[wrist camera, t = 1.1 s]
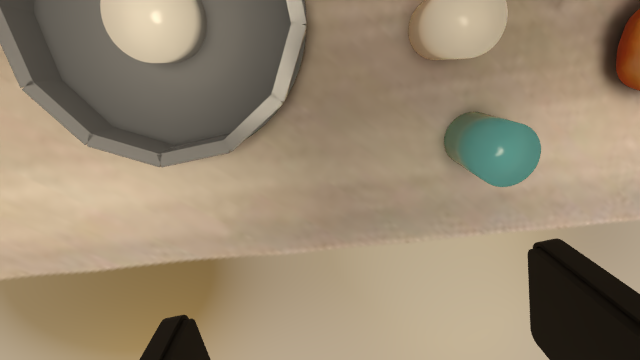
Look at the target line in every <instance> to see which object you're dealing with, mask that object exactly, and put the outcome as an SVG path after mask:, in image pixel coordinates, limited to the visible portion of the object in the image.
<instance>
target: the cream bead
mask: <svg viewBox="0 0 640 360" xmlns="http://www.w3.org/2000/svg"><path fill="white" fill-rule="evenodd" d="M507 18H508V8H507V3H506V0H426V1H424V2H423V3H421V4H420V5H419V6H418V7H417V8H416V10H415V11H414V13H413V14H412V16H411V19H410V22H409V27H408V36H409V40H410V43H411V46H412V47H413V49H414V50H415V51H416V53H418V54H419V55H420V56H422V57H424V58H426V59H429V60H447V59H468V58H475V57H478V56H480V55H483V54H484V53H486V52H488V51H489V50H490V49H492V48H493V47H494V46H495V45H496V43H497V42H498V41H499V39H500V38H501V36H502V34H503V32H504V30H505V27H506V24H507Z"/></svg>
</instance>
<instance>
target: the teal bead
mask: <svg viewBox="0 0 640 360" xmlns="http://www.w3.org/2000/svg"><path fill="white" fill-rule="evenodd" d="M444 146H445V150H446V152H447V154H448V156H449V157H450V158H451V159H452V160H453V161H455V162H456V163H458V164H459V165H461V166H462V167H464V168H465V169H467V170H469V171H470V172H472V173H473V174H475V175H476V176H478V177H479V178H481V179H482V180H484V181H485V182H487V183H489V184H491V185H493V186H498V187H507V186H512V185H515V184H518V183H519V182H521V181H523V180H524V179H526V178H527V177H528V176H529V175H530V174H531V173H532V172H533V171H534V169H535V168H536V166H537V164H538V162H539V159H540V154H541V144H540V140H539V138H538V136H537V134H536V133H535V132H534V131H533V130H532V129H531V128H530V127H528V126H526V125H524V124H521V123H517V122H513V121H510V120H506V119H502V118H499V117H495V116H491V115H488V114H484V113H480V112H468V113H465V114H462V115H460V116H459V117H457V118H456V119H455V120H454V121H453V122H452V123H451V124H450V125H449V127H448V129H447V131H446V133H445V137H444Z"/></svg>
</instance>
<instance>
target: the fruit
mask: <svg viewBox="0 0 640 360" xmlns="http://www.w3.org/2000/svg"><path fill="white" fill-rule="evenodd" d="M616 71H617V74H618V77H619V79H620V80H621V81H622V83H624V84H625V85H626V86H628V87H631V88H633V89H636V90H639V91H640V9H639V10H637V11H636V12H635V13H634V14H633V15H632V16H631V17H630V18H629V20H628V21H627V23H626V25H625V28H624V30H623V33H622V36H621V39H620V42H619V45H618V49H617V56H616Z"/></svg>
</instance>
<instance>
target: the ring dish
mask: <svg viewBox="0 0 640 360" xmlns="http://www.w3.org/2000/svg"><path fill="white" fill-rule="evenodd" d="M306 31H307V24H306V7H305V0H0V44H1V46H2V48H3V51H4V53H5V55H6V57H7V59H8V62H9V64H10V66H11V68H12V70H13V73H14V75H15V77H16V79H17V81H18V83H19V86H20V88H23V87H24V88H23V89H22V90H23V91H24V92H25V93H26V94H27V95H29V96H30V97H31V98H32V99H33V100H34V101H35V102H37V103H38V104H39V105H40V106H41V107H42V108H43V109H44V110H46V111H47V112H48V113H49V114H50V115H51V116H52V117H54V118H55V119H56V120H57V121H58V122H59V123H60V124H62V125H63V126H64V127H65V128H66V129H67V130H68V131H70V132H71V133H72V134H73V135H74V136H75V137H76V138H78V139H79V140H80V141H81V142H82V143H83V144H84V145H86V144H87V146H88V147H92V148H95V149H99V150H102V151H105V152H109V153H112V154H116V155H119V156H123V157H126V158H129V159H133V160H136V161H140V162H143V163H147V164H150V165H153V166H157V167H166V166H170V165H175V164H180V163H184V162H189V161H194V160H198V159H203V158H208V157H213V156H217V155H222V154H227V153H230V152H232V151H233V150H234V149H235V148H236V147H237V146H238V145H240V144H241V143H242V142H243V141H244V140H245V139H246V138H248V137H250V136H251V135H253V134H254V133H255V132H256V131H258V130H259V129H260V128H261V127H263V126H264V125H265V124H266V123H267V122H268V121H269V120H270V119H271V117H272V116H273V115H274V114H275V113H276V112H277V111H278V109H279V108H280V106H281V105H282V104H283V103H284V102H285V100H286V98H287V96H288V94H289V92H290V90H291V88H292V86H293V84H294V82H295V80H296V77H297V74H298V72H299V69H300V66H301V62H302V57H303V53H304V48H305V38H306Z"/></svg>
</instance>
